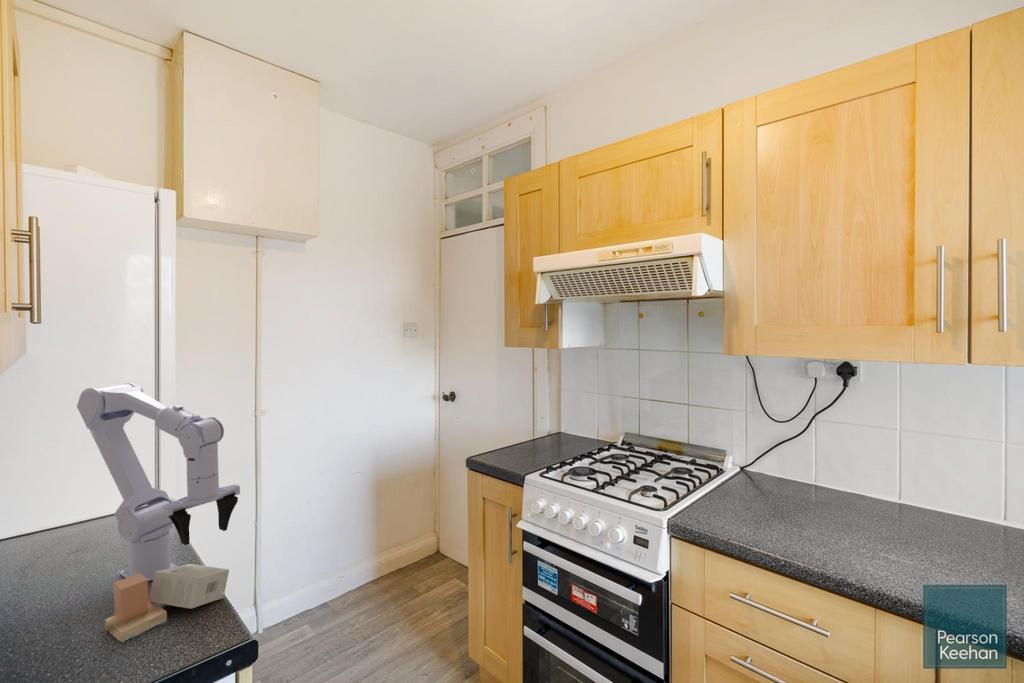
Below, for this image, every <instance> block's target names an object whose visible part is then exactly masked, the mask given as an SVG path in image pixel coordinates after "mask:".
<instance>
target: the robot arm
mask: <svg viewBox="0 0 1024 683" xmlns="http://www.w3.org/2000/svg"><path fill="white" fill-rule="evenodd" d="M76 408H77V410H78V412H79V414H80V416H81V418H82V420H83V423H84V424H85V426H86V428H87V430H90V433H91V436H92V438H93V440H94V442H95V444H96V446H97V448H98V451H99V452H100V455H101V457H102V458H103V460H104V462H105V465H106V467H107V469H108V471H109V473H110V475H111V477H112V479H113V481H114V483H115V485H116V487H117V490H118V491H119V494H120V496H121V498H122V499H123V501H122V502H121V504H120V505H119V507H118V508H117V509H116V511H115V512H114V517H115V519H116V521H117V522H116V523H117V531H118V534H119V535H120V537H121V538H122V539H123V540H125V541H124V546H123V551H124V552H123V554H124V569H122V570H121V571H119V575H121V576H122V577H123V578H124V579H125V578H128V577H131V576H133V575H136V574H139V573H140V574H141V575H142V576H144V577H145V578H146V579H147V581H148V582H150V581H153V578H154V574H155V572H156V571H161V570H166V569H170V568H175V567H179V566H177V565H176V564H174V563H172V561H171V540H170V530H172V529H173V525H174V527H175V528H176V531H177V534H178V537H179V539H180V544H183V545H184V546H187V545H190V541H191V540H190V524H191V518H192V514H189V513H188V510H189V509H192V508H195V507H198V506H201V505H206V504H208V503H212V502H216V506H217V512H218V528H219V530H220V531H222V532H225V531H227V530H228V526H229V522H230V519H231V516H232V513H233V511H234V509H235V507H236V505H237V504H238V501H239V497H238V496H239V495H240V494H241V486H240V485H238V484H236V483H235V484H232V485H227V486H226V485H225V486H222V487H220V483H219V482H220V479H219V478H220V477H219V448H218V447H219V445H218V442H219V443H220V441H221V440H222V439H223V438H224V434H225V430H224V426H223V425H224V424H222V422H221V421H220V420H219V419H217V418H216V417H212V416H211V417H207V418H205V417H201V416H200V415H199V414H198V413H197V414H195V413H193V412H190V411H189V410H186V409H185V408H184V406H183V405H181V404H176V405H175V404H174V405H169V406H167V405H165V404H163V403H161V402H160V401H158V400H156V399H155V398H153V397H151V396H150V395H148V394H146V393H145V392H144V389H143V387H141V386H138V385H137V384H135V383H132V382H127V383H123V384H116V385H109V386H108V385H107V386H102V387H87V388H85V389H83V391H82V392H81V393H80V395H79V399H78V402H77V404H76ZM135 413H136V414H138V415H141V416H143V417H146V418H148V419H151V420H153V421H155V426H156V428H157V429H159V431H160V430H161V431H163V432H164V433H167V434H168V435H170V436H172V437H174V438H177V439H178V442H179V445H180V446H181V447H182V450H183V451H182V452H183V455H184V458H186V485H187V488H186V490H187V495H186V496H184V497H182V498H179V499H177V500H173V499H171V498H170V497H169V495H168V493H167V491H165V490H162V489H158V488H155V487H153V486H152V484H151V482H150V480H149V478H148V476H147V474H146V472H145V470H144V468H143V466H142V464H141V462H140V460H139V457H138V455H137V454H136V452H135V450H134V447H133V446H132V443H131V441H130V440H129V438H128V436H127V434H126V431H125V429H124V427H125V424H127V423H128V422H129V421H131V419H132V417H134V415H135ZM237 495H238V496H237Z"/></svg>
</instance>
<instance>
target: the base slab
mask: <svg viewBox="0 0 1024 683" xmlns="http://www.w3.org/2000/svg"><path fill="white" fill-rule="evenodd" d="M166 619H167V620H168V612H167V610H165V609H164V608H162V607H161V606H159V605H158V603H153V602H148V611H146V612H144V613H141V614H139V615H137V616H134V617H132V618H130V619H127V620H125V621H123V622H122V621H121V620H120V619H119V618H118V617H117V616H116V615H115V614H114V615H113V616H112V615H111V616H110V617H107V618H105V620H104V624H105V627H104V628H105V630H106V629H107V630H108V631H109V632H111V633H112V634H113V635H114V636H115V637H117V638H118V639H119V640H121V641H122V640H124V639H126V638H128V637H131V636H133V635H135V634H137V633H139V632H141V631H143V630H145V629H148V628H150V627H152V626H154V625H156V624H158V623H160V622H162V621H164V620H166Z"/></svg>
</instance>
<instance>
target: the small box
mask: <svg viewBox="0 0 1024 683" xmlns="http://www.w3.org/2000/svg"><path fill="white" fill-rule="evenodd" d="M229 572H230V569H229V568H222V567H214V566H209V565H201V564H193V563H186V564H183V565H179V566H178V567H175V568H170V569H166V570H161V571H156V572H155V574H154V578H153V580H152V583H151V586H150V587H151V588H150V592H149V595H148V602H153V603H155V604H161V605H166V606H173V607H177V608H184V609H191V610H192V609H195V608H197V607H200V606H203V605H204V606H205V605H206V604H209V603H212V602H215V601H218V600H222V599H224V598H225V591H226V588H227V582H228V577H229ZM219 588H220V589H219ZM221 591H222V592H223V593H224V595H223V594H222V592H221ZM222 595H223V597H224V598H223V597H222Z"/></svg>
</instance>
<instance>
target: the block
mask: <svg viewBox="0 0 1024 683" xmlns="http://www.w3.org/2000/svg"><path fill="white" fill-rule="evenodd" d="M148 582H149V581H147V579H146V578H145V577H144V576H142V575H141V574H140V573H139V574H136V575H133V576H131V577H128V578H125V577H124V578H122V579H120V580H117V581H115V582H113V583H112V584H113V588H112V589H113V608H114V609H113V610H114V611H113V614H114V615H116V616H117V617H118V618H119V619H120V620H121V621H122V622H123V621H125V620H127V619H130V618H132V617H134V616H137V615H139V614H141V613H144V612H146V611H148V601H149V588H148V587H149V586H148Z"/></svg>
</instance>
